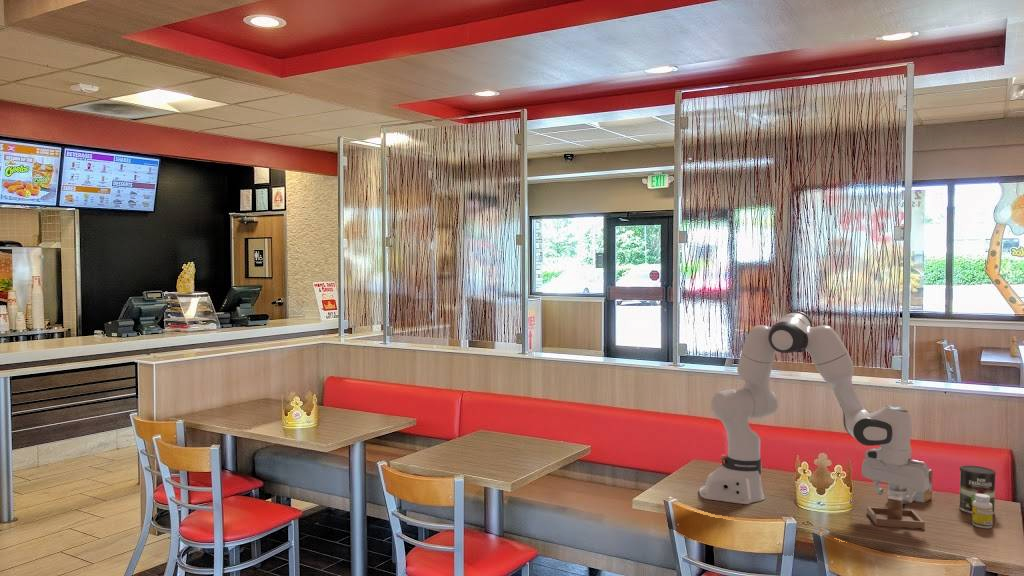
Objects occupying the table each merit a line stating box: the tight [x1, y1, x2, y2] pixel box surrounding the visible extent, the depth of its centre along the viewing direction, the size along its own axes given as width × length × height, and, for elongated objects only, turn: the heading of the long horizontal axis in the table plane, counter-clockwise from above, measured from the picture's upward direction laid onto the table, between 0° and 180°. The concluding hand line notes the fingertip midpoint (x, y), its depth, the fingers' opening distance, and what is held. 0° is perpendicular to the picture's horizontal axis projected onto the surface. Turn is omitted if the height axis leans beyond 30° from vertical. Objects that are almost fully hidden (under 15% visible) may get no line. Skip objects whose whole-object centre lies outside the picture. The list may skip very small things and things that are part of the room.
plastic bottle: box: [886, 484, 908, 505], centre depth 254 cm, size 6×7×20 cm
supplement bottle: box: [971, 494, 993, 529], centre depth 232 cm, size 5×5×10 cm
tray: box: [866, 506, 926, 530], centre depth 236 cm, size 14×12×2 cm
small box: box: [907, 468, 933, 503], centre depth 259 cm, size 8×6×10 cm
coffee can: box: [958, 465, 997, 516], centre depth 247 cm, size 10×10×14 cm
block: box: [886, 495, 904, 520], centre depth 236 cm, size 4×4×7 cm
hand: (893, 497), depth 237 cm, fingers open, 8 cm apart
